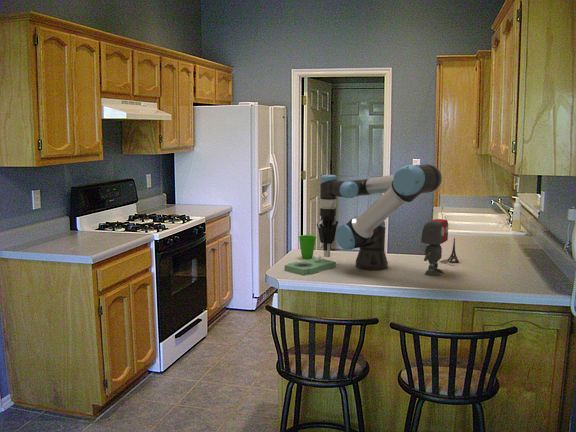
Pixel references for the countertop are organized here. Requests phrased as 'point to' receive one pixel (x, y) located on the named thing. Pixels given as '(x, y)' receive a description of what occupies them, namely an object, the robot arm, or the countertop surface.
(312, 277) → the countertop surface
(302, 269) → the green flat slab
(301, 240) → the cup
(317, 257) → the ball
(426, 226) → the toy robot
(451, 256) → the eiffel tower figurine
